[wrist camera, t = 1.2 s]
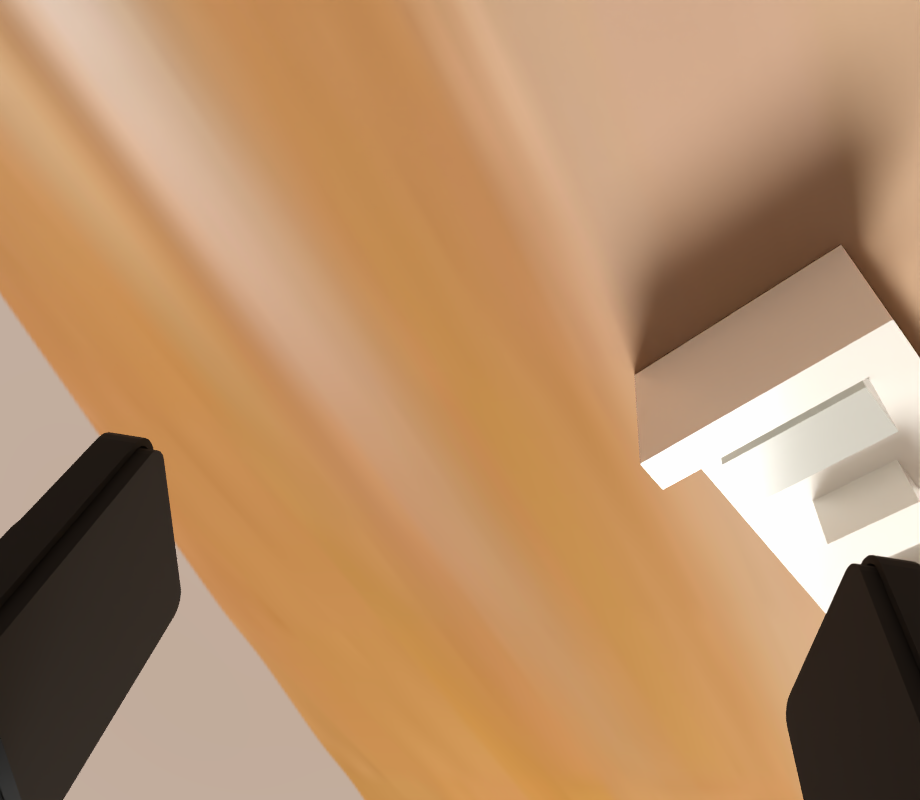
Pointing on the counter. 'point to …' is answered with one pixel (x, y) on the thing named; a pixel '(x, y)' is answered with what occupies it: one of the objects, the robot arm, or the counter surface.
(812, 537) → the white bracket frame
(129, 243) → the counter surface
